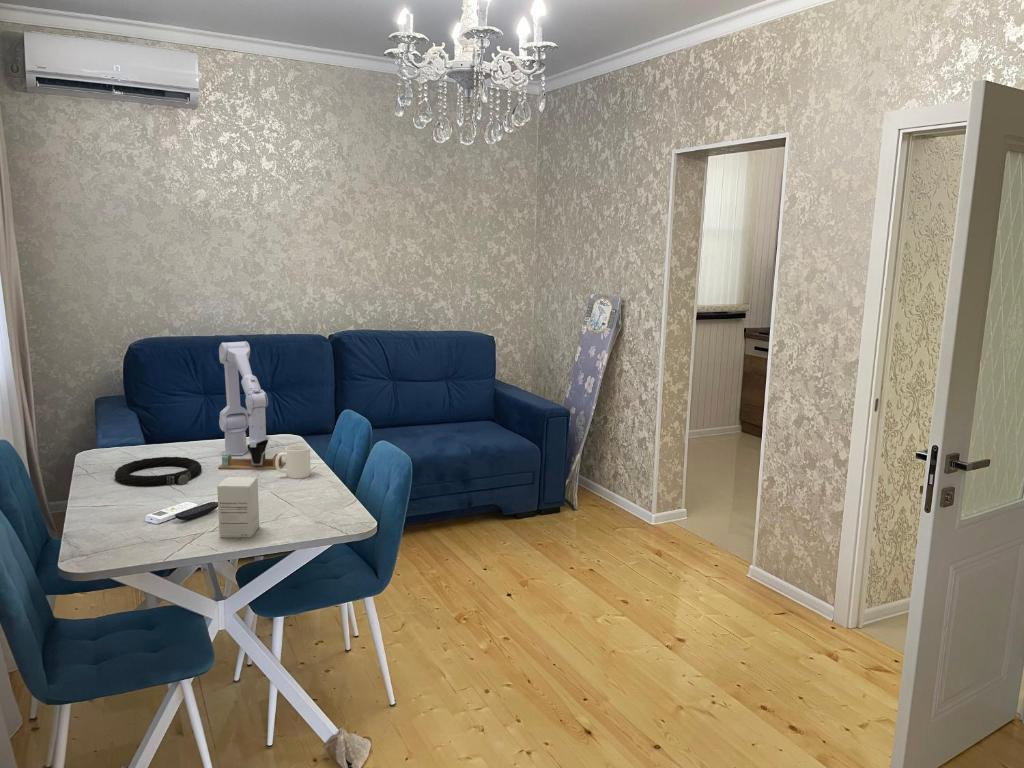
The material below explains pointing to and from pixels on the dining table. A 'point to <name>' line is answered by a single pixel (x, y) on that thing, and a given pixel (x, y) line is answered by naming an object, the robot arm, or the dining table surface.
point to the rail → (249, 463)
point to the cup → (296, 461)
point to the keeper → (261, 459)
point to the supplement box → (238, 506)
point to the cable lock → (158, 480)
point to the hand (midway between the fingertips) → (258, 461)
